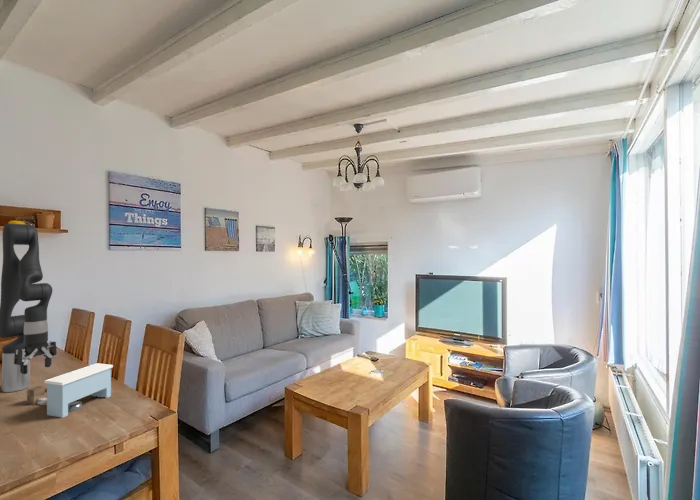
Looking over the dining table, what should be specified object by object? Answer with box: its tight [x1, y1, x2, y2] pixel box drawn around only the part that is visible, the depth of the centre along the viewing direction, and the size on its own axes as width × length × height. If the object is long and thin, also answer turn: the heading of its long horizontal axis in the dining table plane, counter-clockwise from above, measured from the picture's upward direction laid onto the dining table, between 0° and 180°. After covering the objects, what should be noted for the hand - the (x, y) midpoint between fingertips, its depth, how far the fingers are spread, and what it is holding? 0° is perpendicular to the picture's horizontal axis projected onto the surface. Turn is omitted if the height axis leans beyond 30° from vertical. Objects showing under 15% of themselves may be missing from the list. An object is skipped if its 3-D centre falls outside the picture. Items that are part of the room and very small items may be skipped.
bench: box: [44, 362, 114, 418], centre depth 143 cm, size 9×21×14 cm, turn 165°
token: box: [68, 400, 83, 412], centre depth 140 cm, size 5×5×2 cm
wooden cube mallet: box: [26, 385, 47, 406], centre depth 144 cm, size 16×4×6 cm, turn 75°
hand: (36, 370), depth 146 cm, fingers open, 8 cm apart
